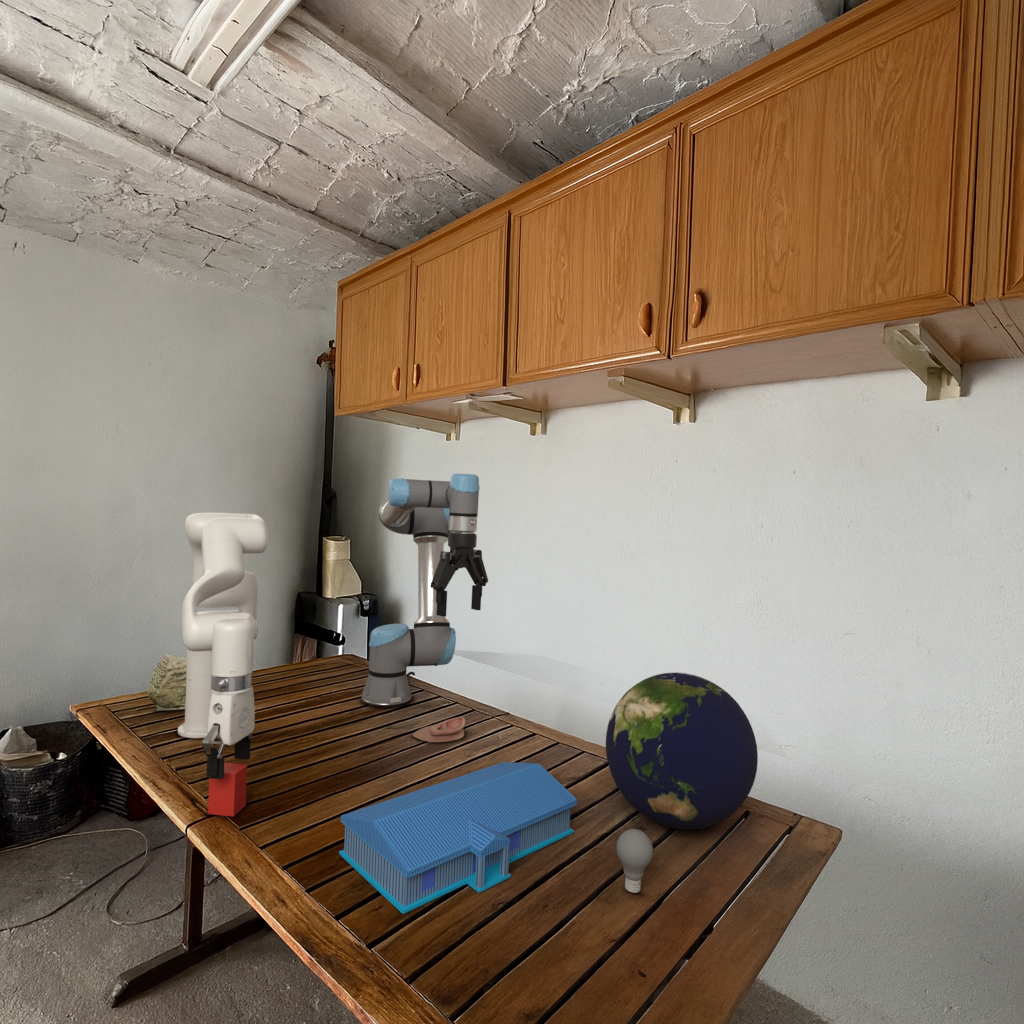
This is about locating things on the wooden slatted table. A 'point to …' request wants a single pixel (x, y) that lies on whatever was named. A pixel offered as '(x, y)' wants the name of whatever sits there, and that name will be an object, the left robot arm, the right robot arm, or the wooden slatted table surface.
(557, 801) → the model building
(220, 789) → the brick
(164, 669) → the fossil
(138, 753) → the wooden slatted table surface
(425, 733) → the anatomical model
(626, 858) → the light bulb
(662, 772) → the globe
